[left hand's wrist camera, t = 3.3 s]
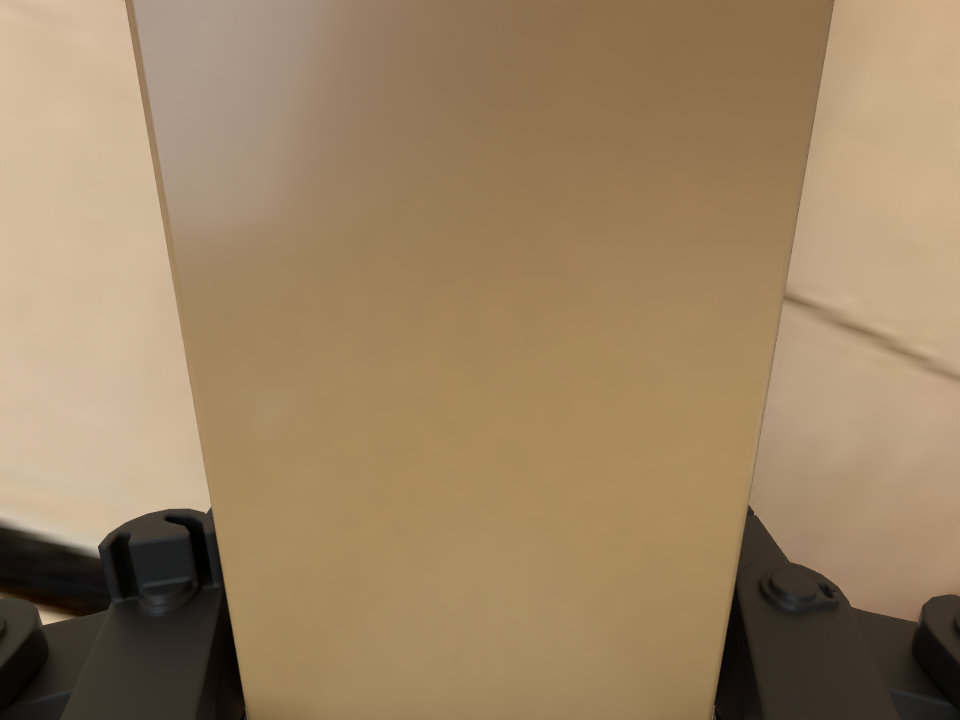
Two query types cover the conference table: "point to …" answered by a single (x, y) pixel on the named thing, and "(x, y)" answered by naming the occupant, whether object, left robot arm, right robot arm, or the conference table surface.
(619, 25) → the bar
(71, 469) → the conference table surface
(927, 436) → the conference table surface
